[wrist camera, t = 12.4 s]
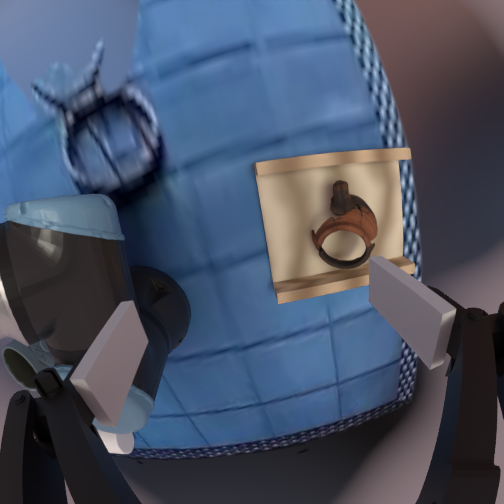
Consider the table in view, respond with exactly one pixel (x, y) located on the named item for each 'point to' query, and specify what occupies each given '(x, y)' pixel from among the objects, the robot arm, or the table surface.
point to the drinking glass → (26, 361)
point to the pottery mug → (347, 225)
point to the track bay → (318, 211)
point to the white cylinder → (117, 442)
